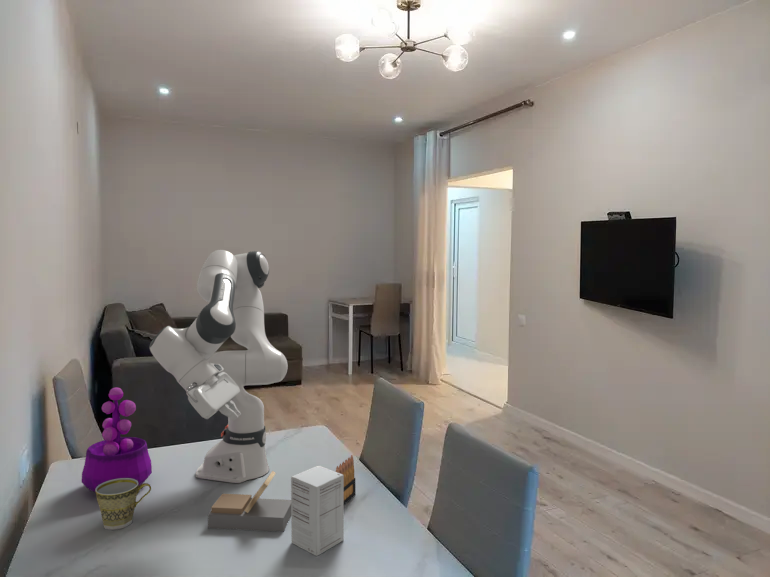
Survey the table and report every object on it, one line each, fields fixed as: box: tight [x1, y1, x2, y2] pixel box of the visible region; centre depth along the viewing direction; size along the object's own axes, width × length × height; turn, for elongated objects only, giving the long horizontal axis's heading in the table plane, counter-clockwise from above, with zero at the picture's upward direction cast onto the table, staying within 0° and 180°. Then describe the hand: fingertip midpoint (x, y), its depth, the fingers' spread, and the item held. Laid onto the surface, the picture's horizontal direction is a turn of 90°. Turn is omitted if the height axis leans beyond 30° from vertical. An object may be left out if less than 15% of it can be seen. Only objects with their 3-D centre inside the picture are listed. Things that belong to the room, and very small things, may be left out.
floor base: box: [207, 493, 291, 533], centre depth 144 cm, size 20×10×5 cm, turn 86°
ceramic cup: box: [95, 478, 152, 531], centre depth 142 cm, size 13×10×10 cm
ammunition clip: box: [335, 454, 357, 506], centre depth 156 cm, size 11×2×12 cm, turn 157°
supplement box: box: [290, 465, 345, 557], centre depth 134 cm, size 10×9×17 cm
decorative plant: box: [81, 387, 153, 493], centre depth 162 cm, size 19×18×30 cm
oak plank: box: [244, 470, 277, 513], centre depth 144 cm, size 9×8×1 cm
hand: (237, 417), depth 143 cm, fingers closed
